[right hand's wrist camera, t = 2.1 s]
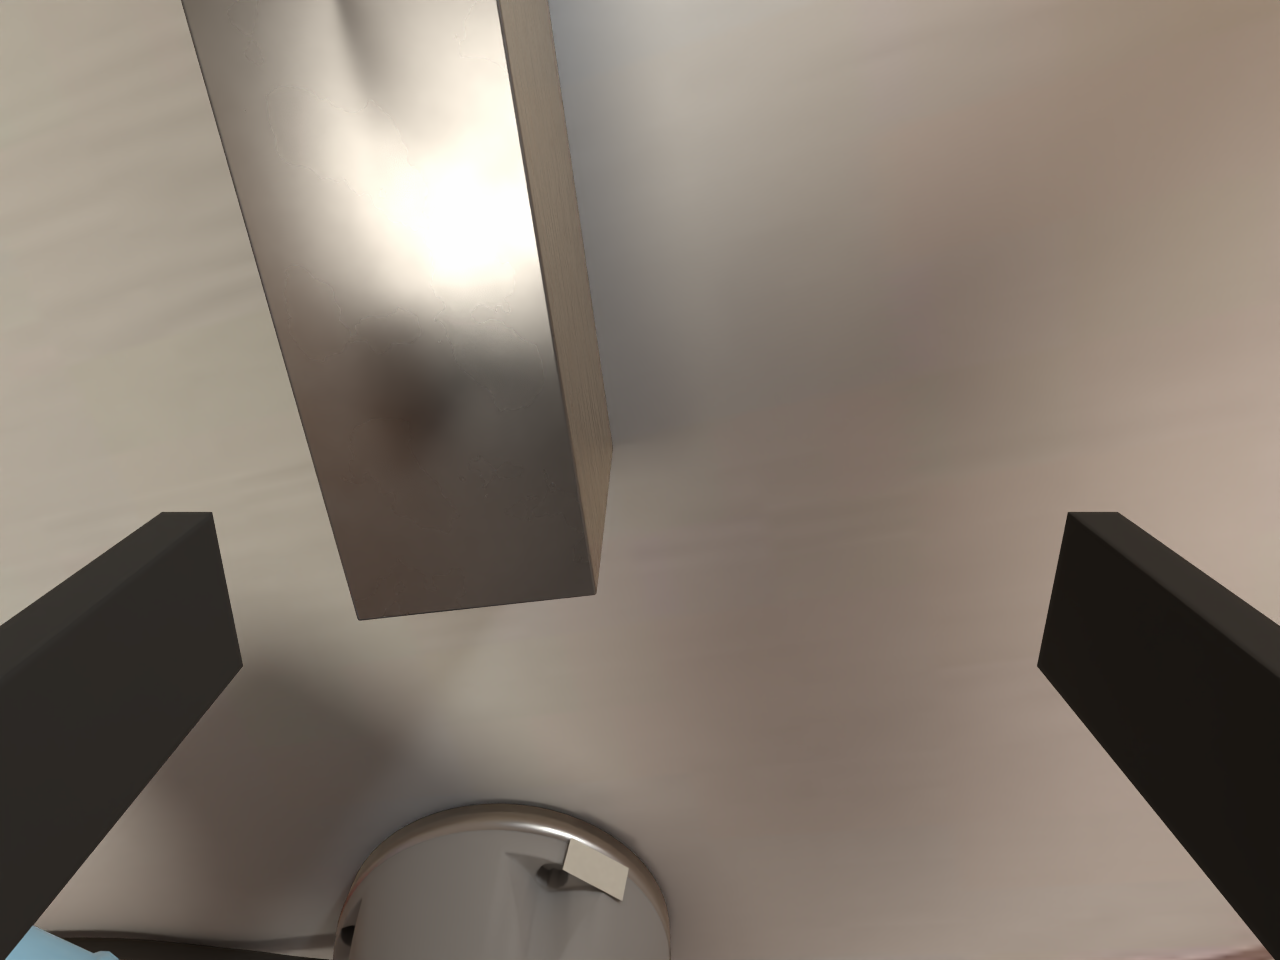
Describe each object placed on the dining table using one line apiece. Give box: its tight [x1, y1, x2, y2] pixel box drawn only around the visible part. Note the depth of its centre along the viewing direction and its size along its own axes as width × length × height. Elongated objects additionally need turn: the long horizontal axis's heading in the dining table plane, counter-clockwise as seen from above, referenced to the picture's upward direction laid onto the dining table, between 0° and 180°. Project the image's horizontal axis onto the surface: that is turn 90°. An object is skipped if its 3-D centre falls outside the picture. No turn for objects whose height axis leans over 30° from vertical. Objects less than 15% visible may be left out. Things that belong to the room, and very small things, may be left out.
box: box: [181, 0, 613, 620], centre depth 20 cm, size 28×6×11 cm, turn 7°
